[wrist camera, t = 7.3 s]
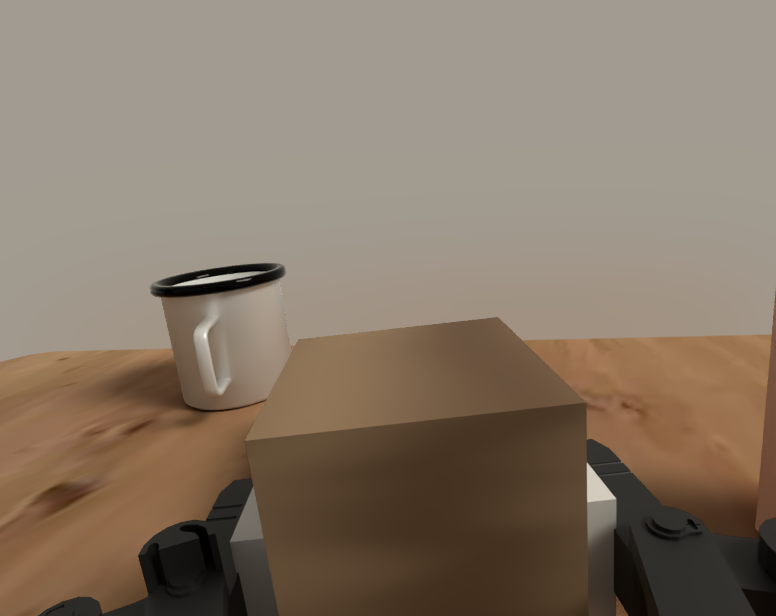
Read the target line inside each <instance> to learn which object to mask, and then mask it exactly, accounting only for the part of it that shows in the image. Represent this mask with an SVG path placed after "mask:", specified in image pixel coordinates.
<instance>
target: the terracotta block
mask: <svg viewBox="0 0 776 616" xmlns="http://www.w3.org/2000/svg"><path fill="white" fill-rule="evenodd" d="M775 517H776V294H775V305H774V316H773V328H772V339H771V351H770V362H769V374H768V385H767V397H766V409H765V420H764V432H763V443H762V455H761V466H760V478H759V490H758V501H757V513H756V524H755V529H756V530H757V531H758V532H759V526H760V525H761V524H762V523H763V522H764V521H765V520H767V519H771V518H775Z"/></svg>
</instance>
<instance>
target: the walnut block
mask: <svg viewBox="0 0 776 616" xmlns="http://www.w3.org/2000/svg"><path fill="white" fill-rule="evenodd" d="M245 446H246V451H247V456H248V461H249V466H250V472H251V477H252V482H253V487H254V492H255V497H256V502H257V507H258V512H259V517H260V522H261V527H262V532H263V538H264V543H265V548H266V553H267V558H268V563H269V568H270V573H271V578H272V583H273V588H274V593H275V598H276V603H277V609H278V614H279V616H588V527H587V431H586V402H585V401H584V400H583V399H582V398H581V397H580V396H579V395H578V394H577V393H576V392H575V391H574V390H573V389H572V388H571V387H570V386H569V385H568V384H567V383H565V382H564V381H563V380H562V379H561V378H560V377H559V376H558V375H557V374H556V373H555V372H554V371H553V370H552V369H551V368H550V367H549V366H548V365H547V364H546V363H545V362H544V361H543V360H542V359H541V358H540V357H539V356H538V355H537V354H535V353H534V352H533V351H532V350H531V349H530V348H529V347H528V346H527V345H526V344H525V343H524V342H523V341H522V340H521V339H520V338H519V337H518V336H517V335H516V334H515V333H514V332H513V331H512V330H511V329H510V328H509V327H508V326H507V325H505V324H504V323H503V322H502V321H501V320H500V319H499V318H498V317H496V318H487V319H479V320H469V321H460V322H452V323H442V324H433V325H425V326H416V327H406V328H397V329H389V330H380V331H371V332H362V333H353V334H344V335H335V336H326V337H317V338H308V339H299V340H298V342H297V343H296V345H295V347H294V349H293V351H292V353H291V355H290V357H289V358H288V360H287V362H286V364H285V366H284V368H283V370H282V371H281V373H280V375H279V377H278V379H277V381H276V383H275V385H274V386H273V388H272V390H271V392H270V394H269V396H268V398H267V400H266V401H265V403H264V405H263V407H262V409H261V411H260V413H259V415H258V416H257V418H256V420H255V422H254V424H253V426H252V428H251V430H250V431H249V433H248V435H247V437H246V439H245Z"/></svg>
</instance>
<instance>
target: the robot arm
mask: <svg viewBox="0 0 776 616" xmlns="http://www.w3.org/2000/svg"><path fill="white" fill-rule="evenodd" d="M587 527H588V616H616V596H617V597H618V599H619V601H620V602H621V604H622V605H623V607H624V609H625V610H626V612H627V614H628V616H776V517H775V518H771V519H767V520H765V521H764V522H763V523H762V524H761V525H760V526H759V537H758V539H752V538H743V537H734V536H726V535H719V534H714V533H710V531H709V530H708V529H707V527H706V526H705V525H704V524H703V523H702V522H701V521H700V520H698V519H697V518H695V517H694V516H692V515H691V514H689V513H687V512H684V511H682V510H679V509H676V508H674V507H668V506H663V505H662V504H661V503H660V502H659V501H658V500H657V499H656V498H655V497H654V496H653V495H652V493H651V492H650V491H649V490H648V489H647V488H646V487H645V486H644V485H643V484H642V483H641V482H640V481H639V480H638V479H637V477H636V476H635V475H634V474H633V473H630V470H629V469H628V468H627V467H626V466H625V465H624V464H623V463H621V460H620V459H619V458H618V457H617V456H616V455H615V454H614V453H613V452H612V451H611V450H610V449H609V448H607V447H606V446H604V445H602V444H600V443H598V442H596V441H594V440H593V439H588V440H587ZM138 557H139V561H140V565H141V568H142V572H143V576H144V579H145V583H146V587H147V591H148V597H147V598H145V599H142V600H140V601H138V602H136V603H133V604H130V605H127V606H124V607H122V608H119V609H116V610H113V611H110V612H108V613H105V614H102V611H101V607H100V604H99V602H98V601H97V600H95V599H93V598H92V597H77V598H73V599H70V600H66V601H63V602H61V603H59V604H56V605H55V606H52V607H51V608H49V609H47V610H45V611H44V612H42V613H41V614H40V615H38V616H279V614H278V609H277V603H276V598H275V593H274V588H273V583H272V578H271V573H270V568H269V563H268V558H267V553H266V548H265V543H264V538H263V532H262V527H261V522H260V517H259V512H258V507H257V502H256V497H255V492H254V487H253V482H252V478H250V479H242V480H234V481H233V482H232V483H231V484H230V485H229V486H227V487H226V488H225V489H224V490H223V491H222V492H221V493H220V494H219V496H218V498H217V500H216V502H215V504H214V506H213V510H211V511H210V513H209V515H208V517H207V519H206V521H200V520H191V521H185V522H180V523H178V524H175V525H173V526H170V527H167V528H166V529H164V530H162V531H161V532H159V533H158V534H156V535H154V536H153V537H152V538H151V539H150V540H149V541H148V542H147V543H146V544H145V545H144V546H143V548H142V550H141V551H140V553H139V555H138Z"/></svg>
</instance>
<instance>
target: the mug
mask: <svg viewBox="0 0 776 616" xmlns="http://www.w3.org/2000/svg"><path fill="white" fill-rule="evenodd" d="M285 274H286V270H285V266H283V265H282V264H278V263H257V264H244V265H235V266H227V267H219V268H213V269H207V270H200V271H195V272H190V273H185V274H180V275H176V276H172V277H168V278H165V279H161V280H158V281H156V282H154V283H152V284H151V286H150V291H151V294H152V295H154V296H155V297H161V299H162V304H163V309H164V313H165V318H166V322H167V327H168V331H169V336H170V340H171V345H172V350H173V354H174V359H175V363H176V368H177V372H178V377H179V381H180V386H181V390H182V395H183V399H184V401H185V403H186V404H188V405H189V406H192V407H195V408H199V409H203V410H228V409H235V408H240V407H245V406H249V405H253V404H256V403H259V402H262V401H264V400H267V398H268V396H269V394H270V392H271V390H272V388H273V386H274V385H275V383H276V381H277V379H278V377H279V375H280V373H281V371H282V370H283V368H284V366H285V364H286V362H287V360H288V358H289V357H290V355H291V353H292V352H291V346H290V340H289V334H288V328H287V322H286V316H285V310H284V304H283V298H282V292H281V285H280V280H279V279H280V278H282V277H283V276H285Z"/></svg>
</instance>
